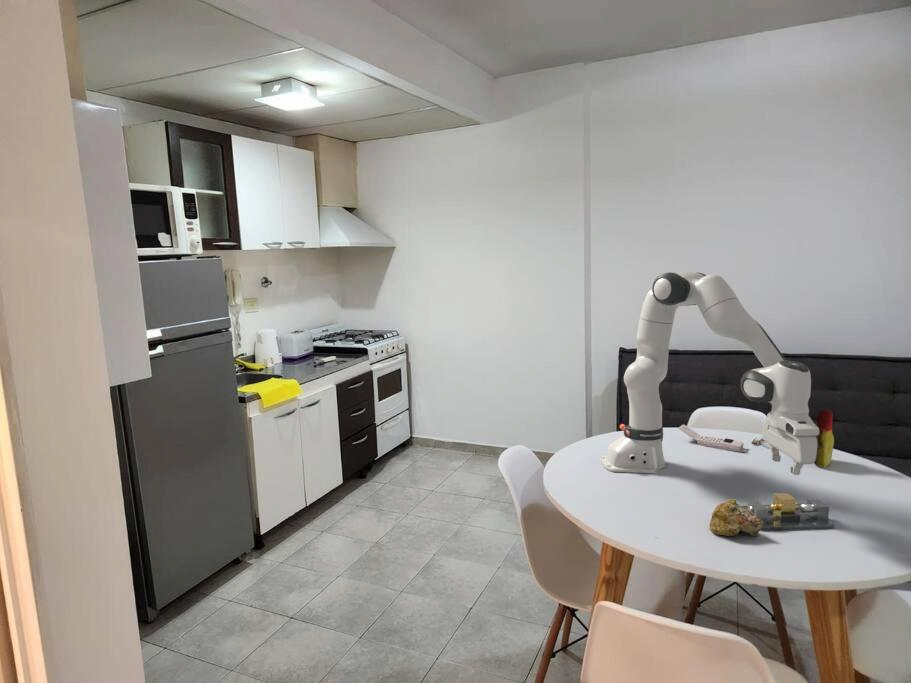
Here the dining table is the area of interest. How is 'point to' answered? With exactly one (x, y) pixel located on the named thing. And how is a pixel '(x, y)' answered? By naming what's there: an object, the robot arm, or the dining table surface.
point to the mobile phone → (714, 441)
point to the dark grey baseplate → (792, 516)
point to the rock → (734, 520)
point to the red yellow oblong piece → (824, 438)
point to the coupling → (784, 504)
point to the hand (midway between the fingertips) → (785, 467)
